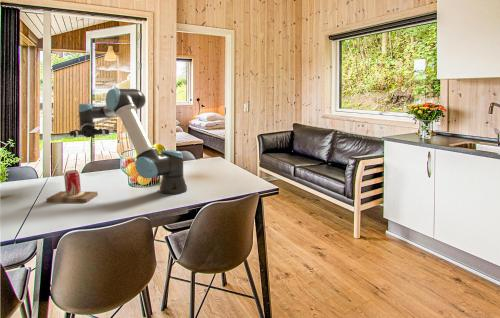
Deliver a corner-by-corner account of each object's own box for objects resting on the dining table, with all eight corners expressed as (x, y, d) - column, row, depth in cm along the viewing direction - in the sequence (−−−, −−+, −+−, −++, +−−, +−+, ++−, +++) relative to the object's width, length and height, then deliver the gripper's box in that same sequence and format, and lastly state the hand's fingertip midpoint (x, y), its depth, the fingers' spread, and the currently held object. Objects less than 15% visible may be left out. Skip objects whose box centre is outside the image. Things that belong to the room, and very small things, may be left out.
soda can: (63, 194, 181) (61, 171, 178) (76, 191, 186) (75, 169, 184) (70, 196, 176) (67, 173, 174) (83, 193, 182) (81, 171, 180)
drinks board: (97, 195, 188) (97, 190, 187) (86, 202, 175) (85, 197, 175) (60, 194, 188) (60, 190, 187) (46, 202, 175) (46, 197, 175)
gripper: (110, 135, 216) (115, 139, 198) (65, 137, 204) (66, 142, 186) (109, 123, 215) (114, 126, 196) (64, 125, 203) (64, 128, 185)
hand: (91, 134), depth 191 cm, fingers open, 13 cm apart
